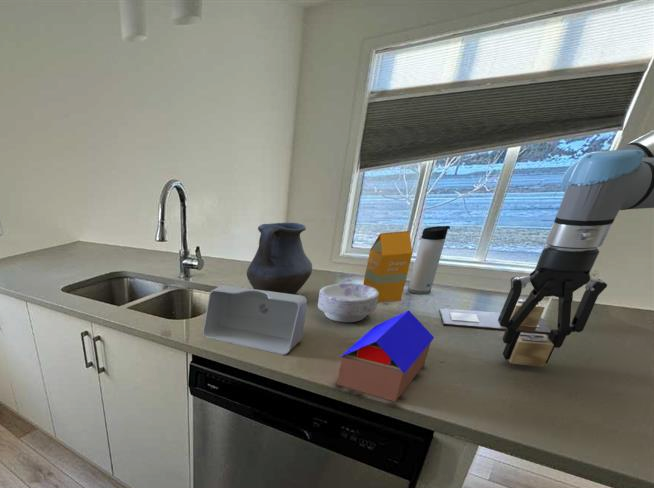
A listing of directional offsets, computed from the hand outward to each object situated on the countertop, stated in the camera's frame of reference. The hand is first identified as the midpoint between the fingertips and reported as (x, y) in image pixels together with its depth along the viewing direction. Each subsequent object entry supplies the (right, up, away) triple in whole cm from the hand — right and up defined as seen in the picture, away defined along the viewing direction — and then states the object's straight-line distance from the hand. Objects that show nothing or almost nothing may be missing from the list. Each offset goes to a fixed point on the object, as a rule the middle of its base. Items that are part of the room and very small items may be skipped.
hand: (524, 358), depth 86 cm
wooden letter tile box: (+16, +11, +18) cm, 26 cm away
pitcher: (-37, +23, +50) cm, 66 cm away
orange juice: (-6, +22, +43) cm, 48 cm away
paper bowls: (-23, +14, +32) cm, 41 cm away
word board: (+11, +11, +21) cm, 26 cm away
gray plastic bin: (-50, +8, +26) cm, 57 cm away
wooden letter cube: (0, 0, 0) cm, 0 cm away
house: (-29, -4, +3) cm, 29 cm away
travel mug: (+8, +24, +45) cm, 52 cm away
